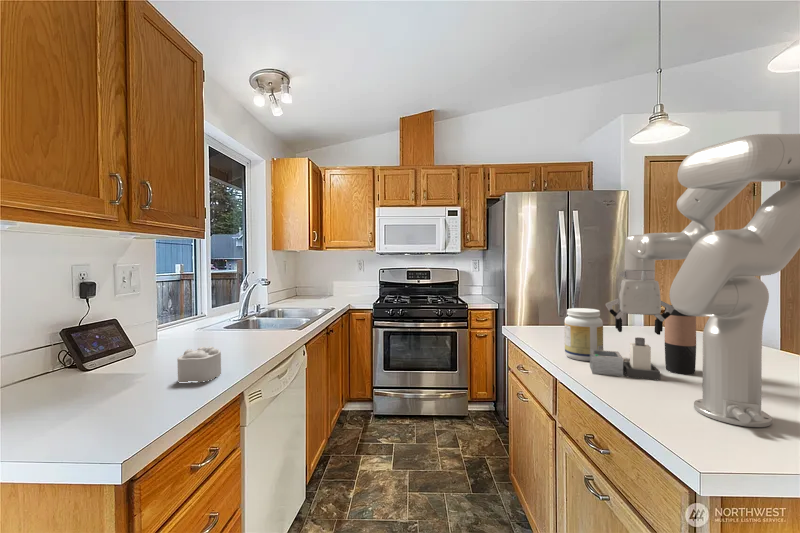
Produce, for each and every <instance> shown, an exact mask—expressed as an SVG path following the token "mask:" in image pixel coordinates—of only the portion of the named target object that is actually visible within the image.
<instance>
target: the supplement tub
mask: <svg viewBox="0 0 800 533" xmlns="http://www.w3.org/2000/svg"><path fill="white" fill-rule="evenodd" d="M566 312H567V313H566V317H565V318H564V354H565V355H566V357H567V358H569V359H572V360H575V361H581V362H582V361H583V362H590V349H591V350H604V321H603V319H602V318H601V317H600V316H601V311H600V310H599V309H596V308H587V307H586V308H583V307H582V308H581V307H573V308H568V309H566Z"/></svg>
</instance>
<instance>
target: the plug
mask: <svg viewBox="0 0 800 533" xmlns="http://www.w3.org/2000/svg"><path fill="white" fill-rule="evenodd" d="M651 349H652V348H651V346H650V345H649V344H648V343H646V339H645V338H644V337H635V338H634V342H629V362H630V368H632V369H643V370H651V364H652V363H651V362H652V360H651V359H652V358H651V357H652V354H651V353H652V352H651V351H652V350H651Z"/></svg>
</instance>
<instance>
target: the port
mask: <svg viewBox="0 0 800 533" xmlns="http://www.w3.org/2000/svg"><path fill="white" fill-rule="evenodd" d="M623 361H624V357H623V356H622V354H621V353H620V352H619V351H614V350H604V349H603V350H591V349H590V361H589V367H590V370H591V374H593V375H594V374H595V375H603V376H604V375H605V376H610V377H611V376H613V377H614V376H615V377H622V378H623V377H624V372H623Z"/></svg>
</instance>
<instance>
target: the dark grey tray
mask: <svg viewBox="0 0 800 533" xmlns="http://www.w3.org/2000/svg"><path fill="white" fill-rule="evenodd" d="M623 374H624V375H625V376H626V378H633V379H644V380H653V381H661V372H660V370H659V369H658V368H657V367H656V366H655V365H654V363H651V370H643V369H632V368H630V361H624V360H623Z"/></svg>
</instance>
